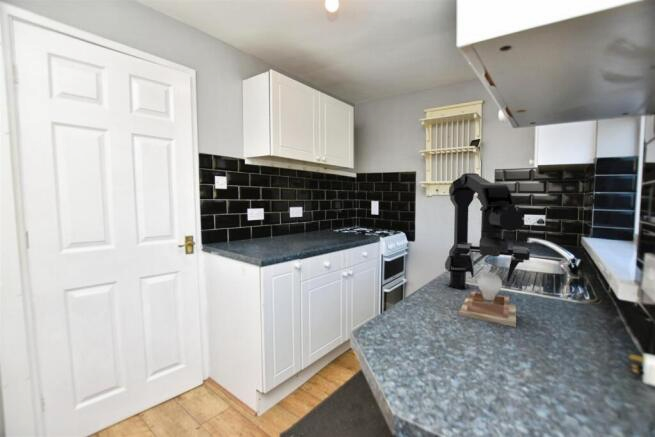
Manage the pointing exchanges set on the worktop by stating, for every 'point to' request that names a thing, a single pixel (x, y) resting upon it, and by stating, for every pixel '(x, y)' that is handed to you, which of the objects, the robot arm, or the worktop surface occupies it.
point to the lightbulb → (489, 286)
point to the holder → (489, 309)
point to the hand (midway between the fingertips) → (489, 279)
